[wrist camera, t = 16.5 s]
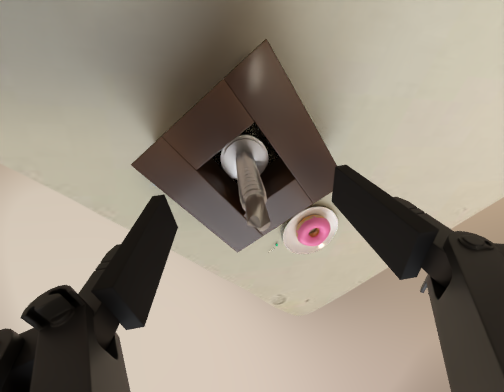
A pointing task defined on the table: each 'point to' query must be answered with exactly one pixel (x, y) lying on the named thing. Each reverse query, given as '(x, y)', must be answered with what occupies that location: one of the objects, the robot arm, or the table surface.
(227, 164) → the screw
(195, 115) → the holder
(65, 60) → the table surface
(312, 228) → the donut
